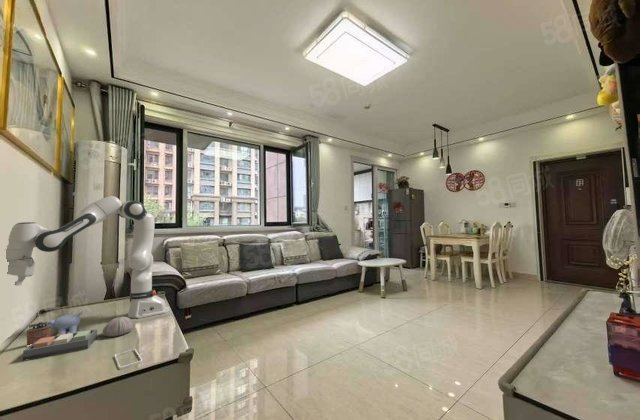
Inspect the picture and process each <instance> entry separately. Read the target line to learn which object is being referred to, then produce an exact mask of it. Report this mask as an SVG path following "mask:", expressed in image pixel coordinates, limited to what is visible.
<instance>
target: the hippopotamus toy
mask: <svg viewBox="0 0 640 420" xmlns="http://www.w3.org/2000/svg"><path fill="white" fill-rule="evenodd" d="M82 313H83V310H81V311H80V312H79V313H78V314H65V315H62V316H59V317H57V318H54V319H51V320H49V321H48V324H47V325H51V328H50V330H52V329H57V330H58V332H57V334H56V336H57V335H61V334H70V333H74V332H77V329H78V328H79V324H80V323H81V317H80V316H81V315H82ZM67 329H68V330H67Z"/></svg>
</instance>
